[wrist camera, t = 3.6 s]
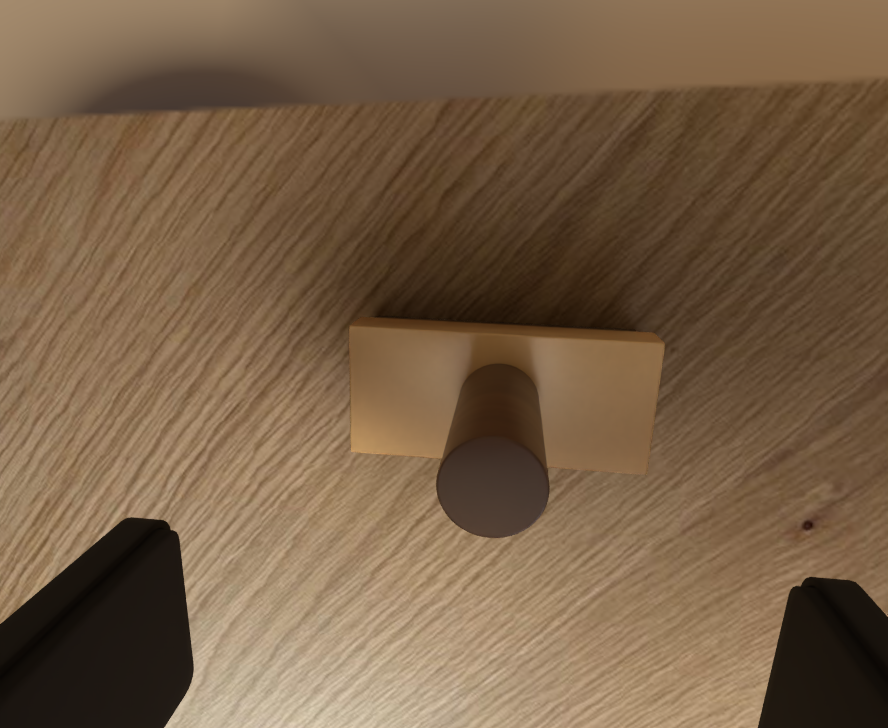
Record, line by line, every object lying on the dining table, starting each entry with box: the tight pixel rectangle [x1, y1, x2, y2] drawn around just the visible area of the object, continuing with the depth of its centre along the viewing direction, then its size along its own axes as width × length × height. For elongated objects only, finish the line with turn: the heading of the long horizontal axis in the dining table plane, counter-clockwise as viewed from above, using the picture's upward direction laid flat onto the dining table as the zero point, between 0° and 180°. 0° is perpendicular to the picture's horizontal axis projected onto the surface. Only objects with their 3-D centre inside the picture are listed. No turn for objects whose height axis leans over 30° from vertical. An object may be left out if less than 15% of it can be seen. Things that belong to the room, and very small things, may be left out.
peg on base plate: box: [349, 316, 665, 538], centre depth 18 cm, size 4×10×9 cm, turn 88°
